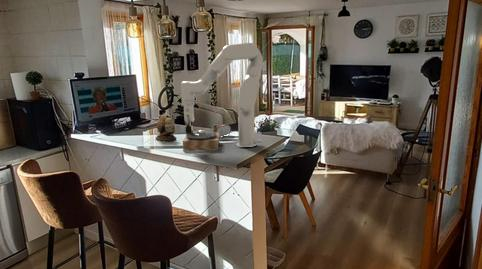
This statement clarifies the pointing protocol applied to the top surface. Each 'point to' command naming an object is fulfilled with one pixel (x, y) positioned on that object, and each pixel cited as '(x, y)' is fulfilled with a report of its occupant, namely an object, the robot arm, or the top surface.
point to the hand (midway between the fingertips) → (189, 131)
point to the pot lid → (200, 134)
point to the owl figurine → (165, 129)
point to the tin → (222, 129)
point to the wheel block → (200, 143)
